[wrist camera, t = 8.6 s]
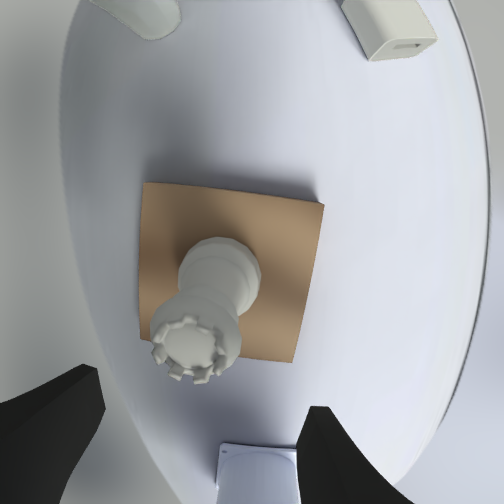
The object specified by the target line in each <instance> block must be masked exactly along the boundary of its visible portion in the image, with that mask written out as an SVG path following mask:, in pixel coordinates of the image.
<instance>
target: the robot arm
mask: <svg viewBox="0 0 504 504" xmlns="http://www.w3.org/2000/svg"><path fill="white" fill-rule="evenodd" d="M105 410H106V408H105V403H104V399H103V395H102V390H101V386H100V381H99V376H98V371H97V368H94V367H91V366H88V365H85V364H81V365H79V366H77V367H75V368H73V369H71V370H69V371H68V372H66V373H64V374H62V375H60V376H58V377H56V378H54V379H53V380H51V381H49V382H47V383H45V384H43V385H41V386H39V387H37V388H35V389H33V390H31V391H29V392H26V393H24V394H22V395H20V396H17V397H15V398H13V399H11V400H8V401H5V402H2V403H0V504H59V503H60V500H61V497H62V494H63V491H64V489H65V486H66V484H67V481H68V479H69V477H70V475H71V473H72V471H73V470H74V468H75V466H76V465H77V463H78V461H79V460H80V458H81V456H82V455H83V453H84V451H85V449H86V448H87V446H88V445H89V443H90V441H91V440H92V438H93V436H94V434H95V433H96V431H97V429H98V426H99V424H100V422H101V420H102V417H103V414H104V412H105ZM297 476H298V483H299V490H300V497H301V504H414V503H413V502H411V501H410V500H408V499H407V498H406V497H404V496H403V495H402V494H401V493H400V492H399V491H397V490H396V489H395V488H394V487H393V486H392V485H391V484H390V483H389V482H388V481H387V480H386V479H385V478H384V477H383V476H382V475H381V474H380V473H379V472H378V471H377V470H376V469H375V468H374V467H373V466H372V465H371V463H370V462H369V461H368V460H367V459H366V457H365V456H364V455H363V454H362V452H361V451H360V450H359V449H358V447H357V446H356V445H355V443H354V442H353V441H352V439H351V438H350V437H349V435H348V434H347V433H346V431H345V430H344V428H343V427H342V425H341V424H340V422H339V421H338V420H337V418H336V417H335V415H334V414H333V412H332V411H331V409H330V408H329V407H324V406H310V409H309V412H308V414H307V417H306V420H305V422H304V425H303V428H302V430H301V433H300V436H299V438H298V441H297V443H296V449H284V448H267V447H255V446H245V445H236V444H229V443H222V444H221V445H220V450H219V459H218V468H217V477H216V489H218V497H217V504H298V491H297V478H296V477H297Z"/></svg>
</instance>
